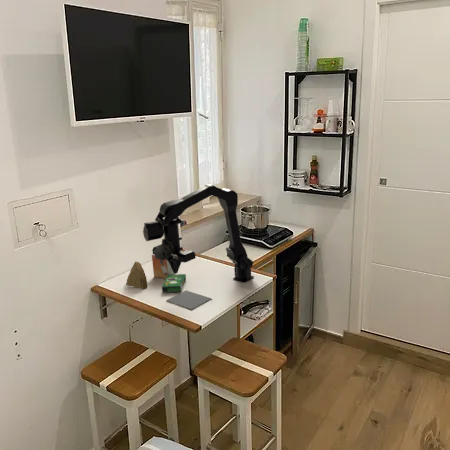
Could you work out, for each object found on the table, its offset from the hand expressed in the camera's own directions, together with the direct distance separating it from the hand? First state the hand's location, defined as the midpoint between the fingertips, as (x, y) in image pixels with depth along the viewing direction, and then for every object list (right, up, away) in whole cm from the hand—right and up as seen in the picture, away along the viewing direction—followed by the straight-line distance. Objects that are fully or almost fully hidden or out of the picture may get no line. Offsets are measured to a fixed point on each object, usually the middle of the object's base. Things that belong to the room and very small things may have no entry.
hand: (175, 273), depth 188 cm
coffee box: (-2, -7, +6) cm, 10 cm away
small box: (-7, -4, +25) cm, 26 cm away
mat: (+5, -10, -1) cm, 12 cm away
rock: (-18, -7, +16) cm, 25 cm away
